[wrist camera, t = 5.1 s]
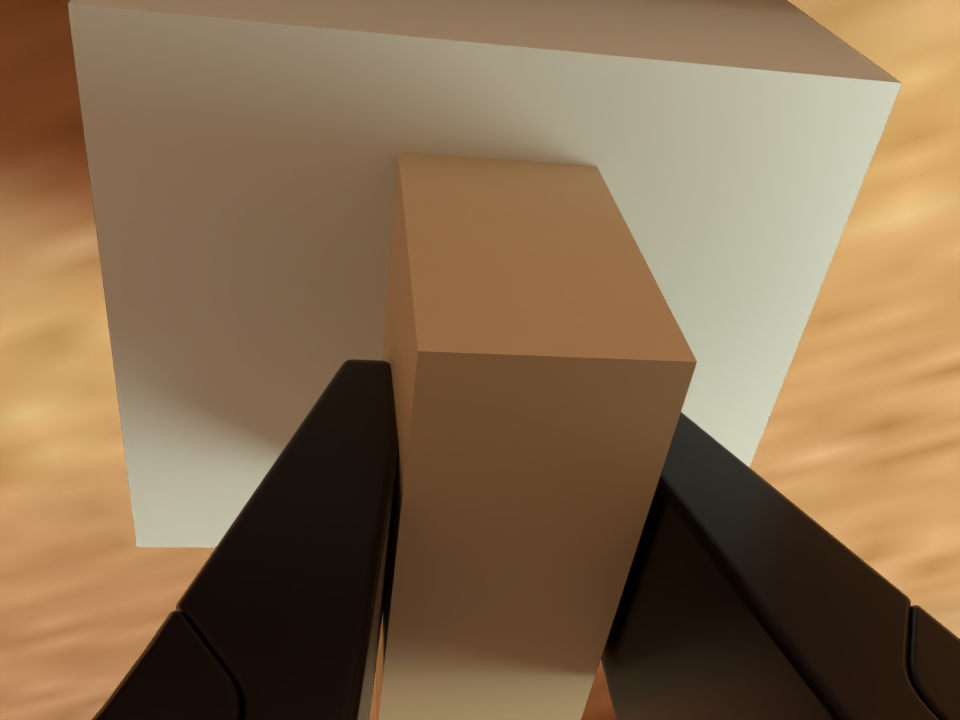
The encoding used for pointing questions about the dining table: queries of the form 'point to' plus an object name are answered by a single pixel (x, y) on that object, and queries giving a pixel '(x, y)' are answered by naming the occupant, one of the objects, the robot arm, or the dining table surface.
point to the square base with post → (465, 279)
